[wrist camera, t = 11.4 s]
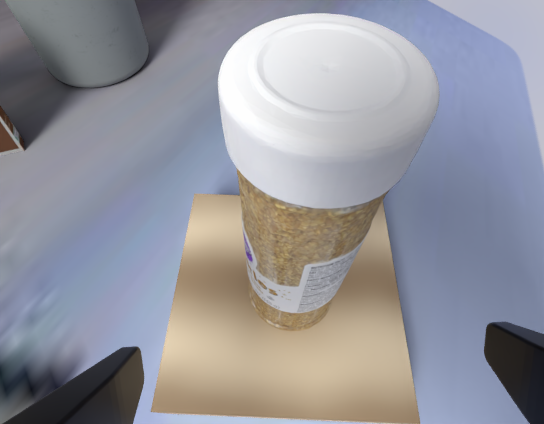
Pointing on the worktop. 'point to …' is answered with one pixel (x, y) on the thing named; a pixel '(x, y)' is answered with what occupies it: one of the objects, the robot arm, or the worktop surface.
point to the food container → (9, 136)
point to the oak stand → (282, 336)
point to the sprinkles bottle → (317, 149)
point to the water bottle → (85, 38)
